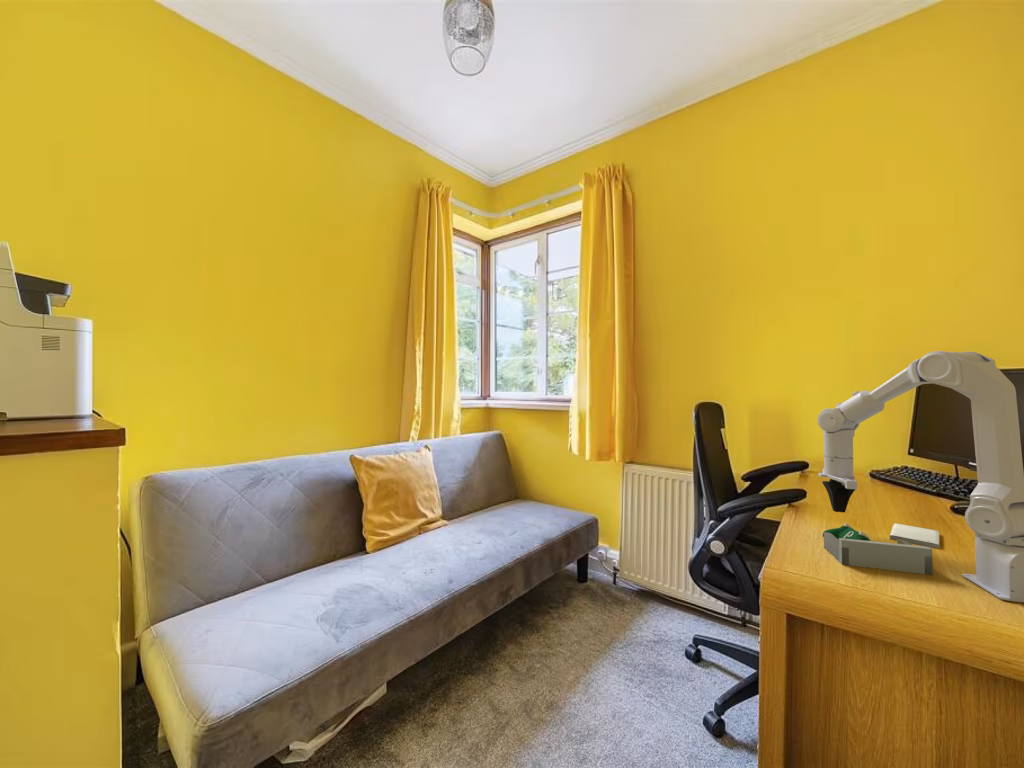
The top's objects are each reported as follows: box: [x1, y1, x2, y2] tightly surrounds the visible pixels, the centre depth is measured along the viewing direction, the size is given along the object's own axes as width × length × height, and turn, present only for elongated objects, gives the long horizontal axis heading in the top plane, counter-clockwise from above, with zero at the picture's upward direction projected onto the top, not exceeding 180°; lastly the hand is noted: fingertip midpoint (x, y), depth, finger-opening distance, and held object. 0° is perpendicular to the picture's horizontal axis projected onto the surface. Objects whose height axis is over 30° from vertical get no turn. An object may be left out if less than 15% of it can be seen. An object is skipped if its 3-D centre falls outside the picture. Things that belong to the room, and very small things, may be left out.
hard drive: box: [889, 523, 940, 550], centre depth 97 cm, size 2×8×12 cm
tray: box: [823, 531, 934, 576], centre depth 84 cm, size 9×14×5 cm, turn 70°
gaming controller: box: [822, 522, 871, 541], centre depth 92 cm, size 9×4×6 cm
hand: (838, 511), depth 100 cm, fingers closed
